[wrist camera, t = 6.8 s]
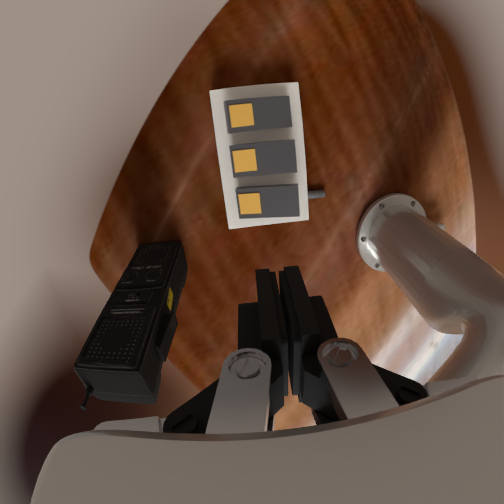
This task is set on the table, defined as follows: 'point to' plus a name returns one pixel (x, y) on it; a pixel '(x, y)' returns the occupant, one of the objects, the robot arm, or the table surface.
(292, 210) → the rocker near arm
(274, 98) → the rocker far end
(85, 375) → the portable radio
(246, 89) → the rocker switch panel
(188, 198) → the table surface
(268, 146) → the rocker middle
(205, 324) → the table surface
